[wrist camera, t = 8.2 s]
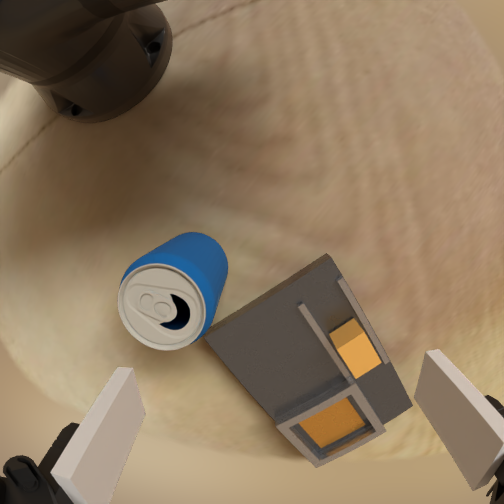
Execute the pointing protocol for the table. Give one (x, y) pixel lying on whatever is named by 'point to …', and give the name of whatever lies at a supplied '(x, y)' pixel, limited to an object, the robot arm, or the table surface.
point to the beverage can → (173, 291)
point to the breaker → (355, 348)
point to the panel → (309, 364)
